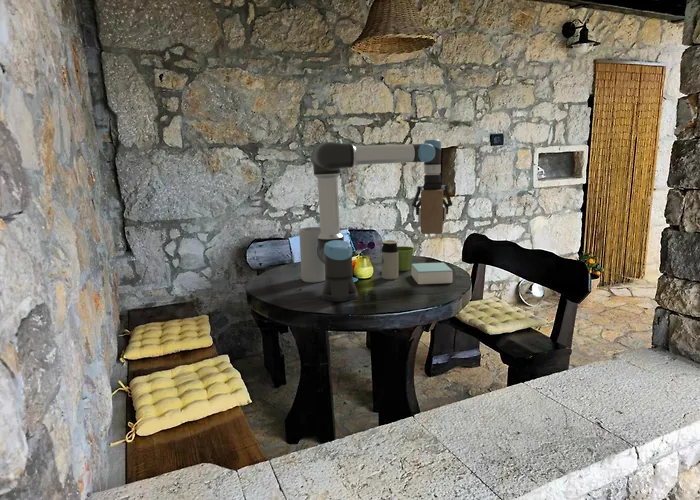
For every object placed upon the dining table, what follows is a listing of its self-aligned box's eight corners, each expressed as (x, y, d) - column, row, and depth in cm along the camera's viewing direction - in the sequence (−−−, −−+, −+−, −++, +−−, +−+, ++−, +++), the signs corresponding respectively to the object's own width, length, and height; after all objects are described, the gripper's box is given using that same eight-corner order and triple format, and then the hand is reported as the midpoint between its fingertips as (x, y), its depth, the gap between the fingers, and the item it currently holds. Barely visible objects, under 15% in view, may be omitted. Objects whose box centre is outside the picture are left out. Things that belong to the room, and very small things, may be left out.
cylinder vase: (324, 275, 237) (322, 226, 232) (329, 281, 225) (327, 230, 220) (299, 277, 234) (297, 228, 229) (303, 284, 222) (301, 231, 217)
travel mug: (398, 275, 233) (398, 239, 229) (398, 279, 225) (398, 242, 222) (382, 275, 234) (381, 240, 230) (381, 279, 226) (381, 243, 222)
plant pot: (391, 267, 251) (390, 246, 248) (413, 266, 250) (413, 246, 248) (392, 272, 239) (392, 250, 237) (415, 272, 239) (415, 250, 236)
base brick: (418, 284, 216) (418, 271, 215) (411, 275, 232) (411, 263, 231) (452, 282, 217) (452, 270, 216) (443, 274, 233) (443, 262, 232)
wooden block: (442, 234, 214) (443, 190, 210) (420, 234, 216) (420, 190, 212) (442, 230, 224) (443, 188, 220) (421, 230, 226) (421, 188, 222)
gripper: (408, 175, 210) (408, 223, 215) (460, 173, 212) (459, 221, 216) (405, 174, 218) (405, 221, 222) (455, 173, 219) (454, 219, 224)
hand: (431, 221), depth 219 cm, fingers closed on wooden block, 11 cm apart
